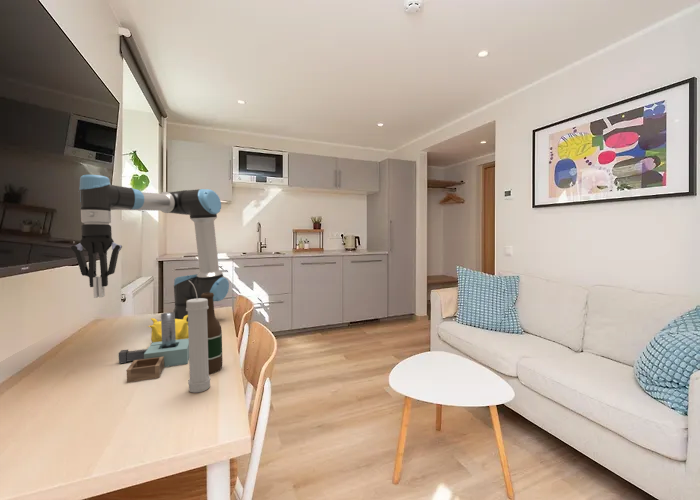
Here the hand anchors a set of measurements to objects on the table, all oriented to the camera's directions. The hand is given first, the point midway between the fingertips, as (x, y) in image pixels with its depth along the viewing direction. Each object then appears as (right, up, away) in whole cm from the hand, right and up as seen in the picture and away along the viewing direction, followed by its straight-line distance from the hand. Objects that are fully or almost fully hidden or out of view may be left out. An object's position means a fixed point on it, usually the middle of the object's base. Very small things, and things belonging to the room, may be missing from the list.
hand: (99, 296), depth 102 cm
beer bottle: (+38, -22, -4) cm, 44 cm away
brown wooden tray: (+20, -22, -7) cm, 31 cm away
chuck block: (+20, -22, +4) cm, 30 cm away
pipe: (+40, -23, -17) cm, 49 cm away
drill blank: (+21, -22, +4) cm, 30 cm away
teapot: (+9, -22, +25) cm, 34 cm away
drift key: (+10, -22, +4) cm, 24 cm away
